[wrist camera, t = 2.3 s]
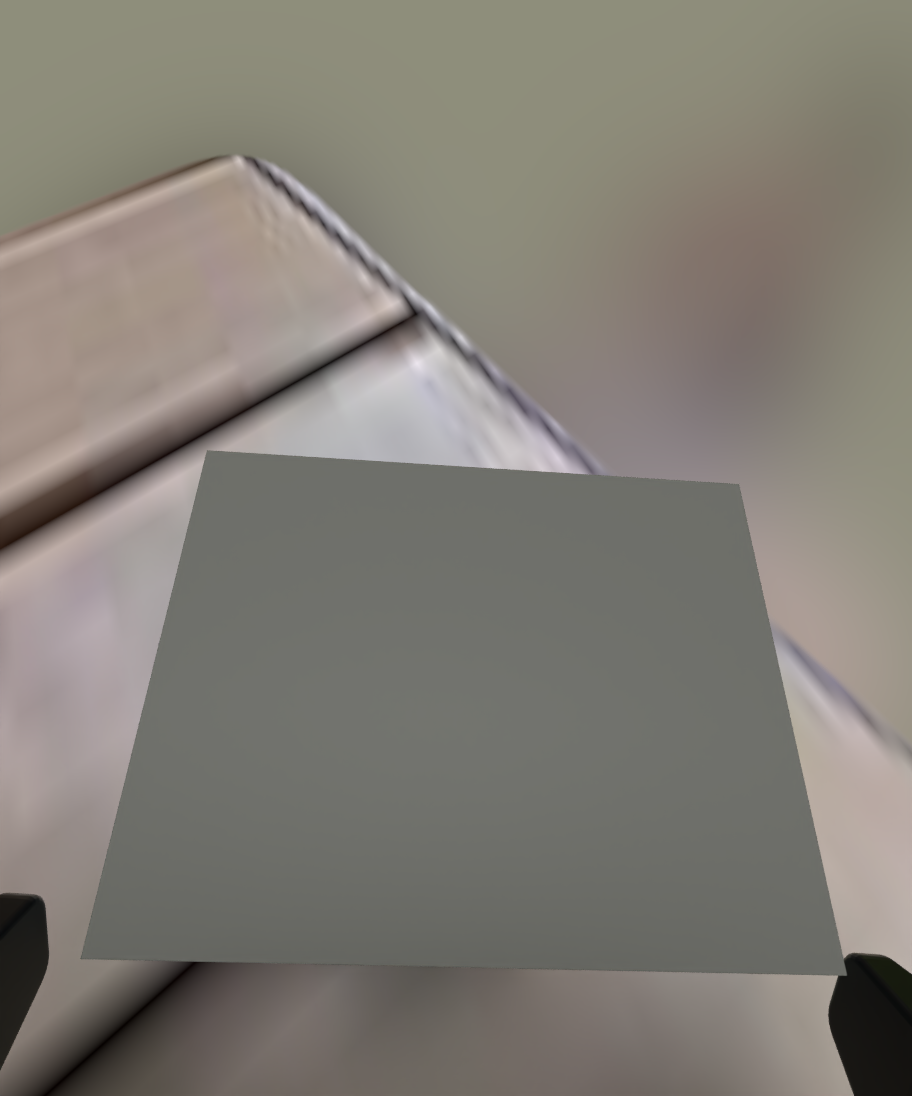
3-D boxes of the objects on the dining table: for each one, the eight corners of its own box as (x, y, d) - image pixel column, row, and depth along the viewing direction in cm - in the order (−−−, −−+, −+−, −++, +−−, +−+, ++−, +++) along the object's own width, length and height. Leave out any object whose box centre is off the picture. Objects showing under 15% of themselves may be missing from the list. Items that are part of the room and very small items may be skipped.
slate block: (306, 944, 16) (80, 959, 4) (326, 763, 18) (206, 450, 6) (525, 949, 16) (846, 975, 5) (521, 770, 18) (739, 484, 7)
